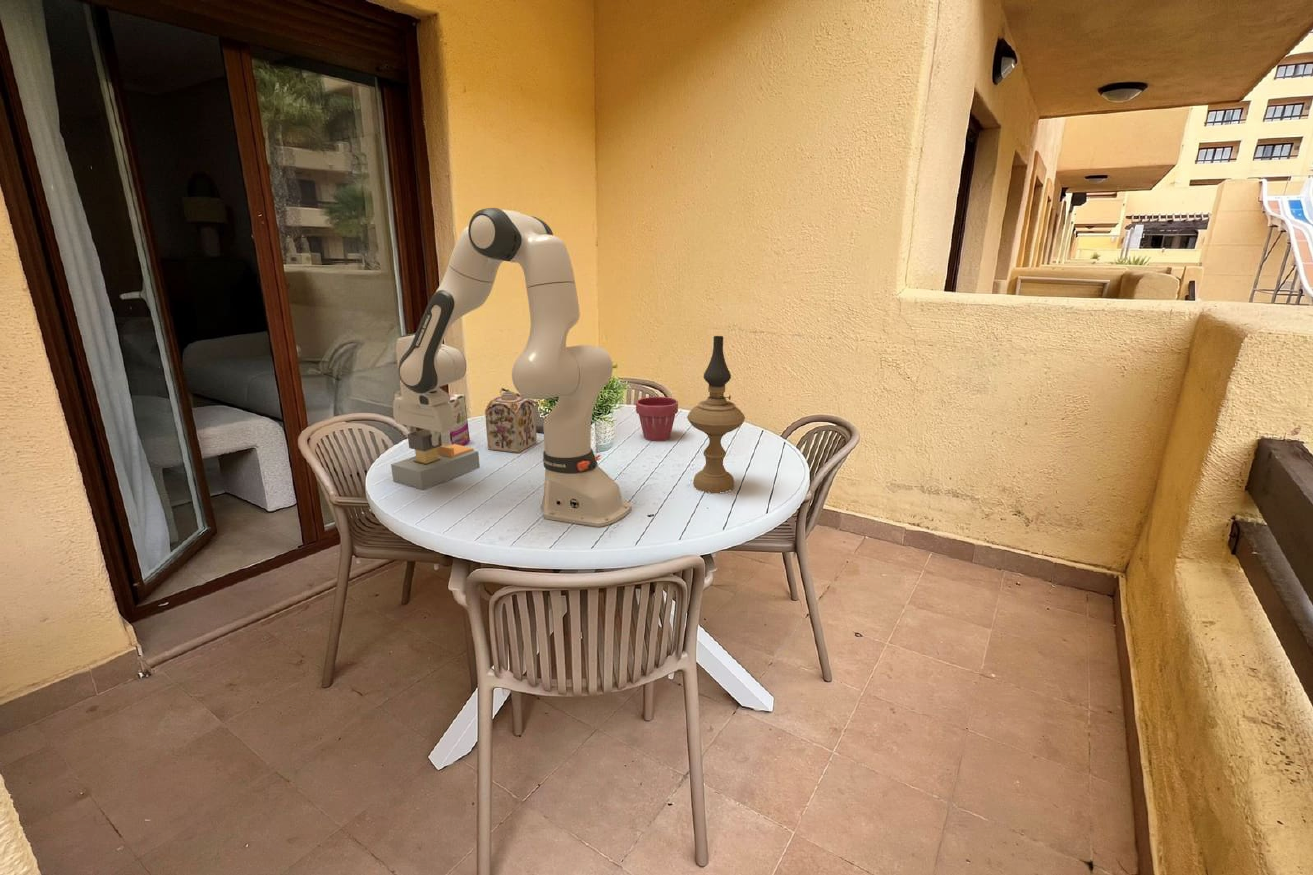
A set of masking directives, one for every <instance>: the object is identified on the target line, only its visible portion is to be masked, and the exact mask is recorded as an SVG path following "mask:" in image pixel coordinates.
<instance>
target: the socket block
mask: <svg viewBox="0 0 1313 875" xmlns="http://www.w3.org/2000/svg"><path fill="white" fill-rule="evenodd" d="M448 446H450V445H448ZM479 454H480V453H479V451H478V450H475V449H474V450H472V451H470V452H467V453H464V454H461V455H458V456H455V457H452V458H451V457H447V456H442V455H438V460H436V461H433V462H430V463H428V464H424V463H421V462H417V461H416V455H415V456H412V457H408V458H406V459H403V460H399V461H397V462H394V463H391V464H390V467H391V468H390V469H391V474H392V475H391V476H392V481H393V482H394V481H395V483H398V484H401V485H405V486H408V487H412V488H416V489H418V490H422V491H423V490H426V489H428V488H430V487H433V486H436V485H438V484H441V483H443V482H446V481H449V480H452V479H455V478H457V477H459V476H462V475H465V474H467V473H469V472H472V471H475V470H477V469H480V467H481V466H480V465H481V464H480V456H479Z"/></svg>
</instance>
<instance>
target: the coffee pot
mask: <svg viewBox="0 0 1313 875" xmlns="http://www.w3.org/2000/svg"><path fill="white" fill-rule="evenodd" d="M503 392H513V391H512V390H509V389H505V388H503V387H502V388H501V389H500V391H499V393H503ZM516 395H517V396H522V395H521V394H520V393H517V392H516ZM527 399H528V398H527ZM529 400H530V401H531V402H532V403H533V404H534V406H535V420H536V433H544V428H543V424H544V420H545V418H543V417H540V415H539V412H538V407H539V404H538V402H537V400H533V399H529Z"/></svg>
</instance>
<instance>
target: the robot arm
mask: <svg viewBox="0 0 1313 875" xmlns="http://www.w3.org/2000/svg"><path fill="white" fill-rule="evenodd" d="M458 236H459V237H458V239H457V240H456V243H455V246H454V248H453V249H452V253H451V255H450V257H449V262H448V265H447V267H446V268H447V269H446V271H445V273H444V276H443V278H442V280H441V282H440V284H439V286H438V288H437V289H436V291H435V293H434V294H433V296H432V297H431V298H430V300H429V302H428V303H427V306H426V308H425V310H424V312H423V315H422V318H421V320H420V322H419V325H418V327H417V329H416V331H415V332H414V333H409V334H403V335H400V336H399V338H398V339H397V342H396V345H395V346H396V364H397V369H398V376H399V378H400V381H399V385H400V389H399V390H396V392H395V394H394V400H393V403H392V405H393V406H392V410H393V411H392V412H393V419H394V422H395V424H398V425H404V426H406V428H407V431H408V432H409V433H413V432H416V431H418V430H417V428H418V429H420V430H423V429H426V430H430V431H431V434H432V438H431V439H429V442H430V445H432V446H436V445H438V444H439V442H438V438H439V436H440V433H444V432H447V431H450V430H451V429H452V428H453V416H452V410H451V406H450V404H449V403H447V402H449V401H450V395H451V394H450V393H449V392H446V391H445V390H443V389H442V388H440V387H443V386H446V385H447V386H448V385H449V384H453V383H456V382H457V381H459V380H461V379H463V378H464V376H465V375H466V371H467V360H466V357H465V356H464V354H463V353H462V351H461V350H459V349H458V348H457V347H454V346H450V345H447V344H444V343H443V342H444V340H445V337H446V335H447V333H448V330H449V329H450V328H451V327H452V325H453V324H454V323H456V321H458V320H459V319H460V318H462V317H464V316H465V315H466V314H468V313H471V312H473V311H475V310H477V309H478V308H480V307H482V306H483V305H484V304H485V303H486V301H487V300H488V298H489V296H490V295H491V292H492V290H493V287H494V284H495V280H496V277H497V274H498V270H499V267H500V266H501V265H502V263H503V262H510V263H516V264H519V265H520V267H521V269H522V272H523V275H524V280H525V288H526V294H527V295H526V296H527V301H528V309H529V318H530V319H529V320H530V328H529V329H530V331H529V336H528V340H527V342H526V345H525V346H524V349H523V351H522V352H521V354H520V355H519V356H518V357H517V358H516V360H515V361H514V363H513V365H512V370H511V380H512V384H513V386H514V388H515V389H516V391H517V392H518V394H519V395H521V396H523V397H525V398H528V399H531V400H533V399H534V400H537V399H549V398H552V399H553V398H558V400H557V402H556V404H555V405H554V406H555V407H554V409H553V410H552V411H551V412H550V413H549V414H548V415H547V416H546V418H545V420H544V424H543V428H544V432H543V440H544V441H543V442H544V450H543V452H542V455H543V456H542V457H543V459H542V462H543V467H544V468H545V475H544V488H543V490H544V491H543V496H542V501H541V504H540V508H541V510H542V511H543V512H542V517H543V519H546V520H554V521H560V522H566V523H571V524H577V525H578V524H579V525H584V526H590V527H596V528H600V527H604V526H608V525H611V524H614V523H616V522H618V521H619V520H621V519H622V518H624V517H625V516H627V515H628V514H629V513H630V511H631V510H632V503H631V502H628V501H626V500H624V499H622V492H621V489H620V486H619V484H618V483H617V482H616V481H615V480H614V479H612V477H610V476H609V475H608V474H607V473H606V472H605V471H604V470H603V469H602V468H601V467H600V466H599V464H598V461H599V460H601V459H602V458H601V454H599V455H596V456H595V453H594V451H593V449H592V438H591V437H592V436H591V435H592V432H591V431H592V424H591V423H592V417H593V411H594V410H595V409H594V408H595V406H596V402H597V401H598V398H599V395H600V393H601V392H602V390H603V388H604V387H605V386H606V385H607V384H608V383H609V382H610V380H611V378H612V376H613V369H614V365H613V361H612V357H611V356H610V354H609V352H608V351H607V350H606V349H604V348H603V347H601V346H596V345H589V344H578V345H572V346H567V337H568V334H569V332H570V330H571V329H572V328H574V326H576V324H578V322H579V320H580V317H581V312H580V304H579V298H578V292H577V285H576V280H575V274H574V273H575V272H574V268H573V264H572V261H571V258H570V254H569V251H568V249H567V246H566V244H565V242H564V241H563V240H562V239H561V238H560V237H558V236H556V235H554V233H553V231H552V229H551V227H550V225H549V224H547V223H546V222H545V221H544V220H542V219H540V218H538V217H536V216H532V215H527V214H524V213H522V212H519V211H517V210H510V209H500V208H497V207H488V208H487V207H486V208H483V209H480V210H478V211H476V212H475V213H474V214H473V215H472V216H471V218H470V220H469V223H468V225H467V226H466V227H464V228H463V230H462V231H461V233H460V235H458ZM409 433H408V434H409Z"/></svg>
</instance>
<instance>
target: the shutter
mask: <svg viewBox="0 0 1313 875" xmlns="http://www.w3.org/2000/svg"><path fill="white" fill-rule="evenodd" d="M472 450H474V451H475V449H474V447H470V446H466V445H464V446H461V445H457V444H453V445H450V446H443V445H442V446H440V447H437V454H438V455H442V456H447V457H451V458H452V457H455V456H458V455H461V454H464V453H467V452H470V451H472Z"/></svg>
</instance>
